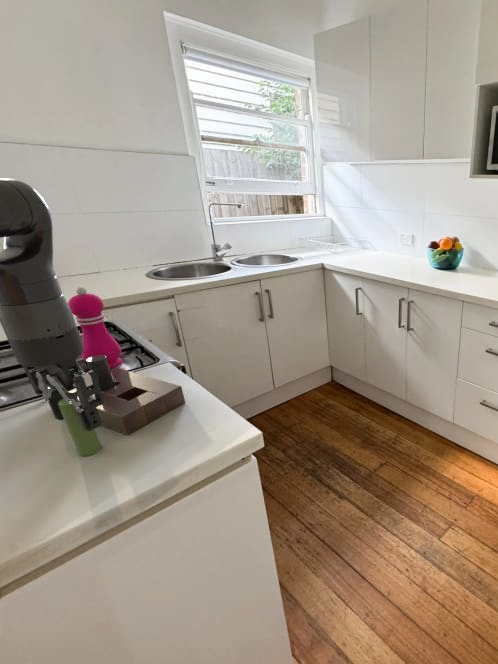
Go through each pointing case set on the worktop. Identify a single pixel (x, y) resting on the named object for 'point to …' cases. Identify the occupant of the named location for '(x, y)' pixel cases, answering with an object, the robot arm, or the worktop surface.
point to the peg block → (136, 401)
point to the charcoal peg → (101, 371)
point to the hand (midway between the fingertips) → (79, 422)
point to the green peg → (79, 430)
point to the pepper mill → (94, 327)
